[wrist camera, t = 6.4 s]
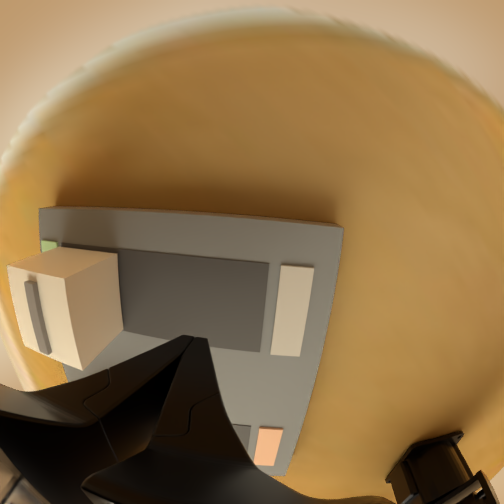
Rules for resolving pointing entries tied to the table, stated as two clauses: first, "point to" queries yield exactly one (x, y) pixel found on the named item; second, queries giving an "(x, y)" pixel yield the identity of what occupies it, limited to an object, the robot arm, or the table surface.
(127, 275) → the switch board
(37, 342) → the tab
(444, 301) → the table surface
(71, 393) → the robot arm
